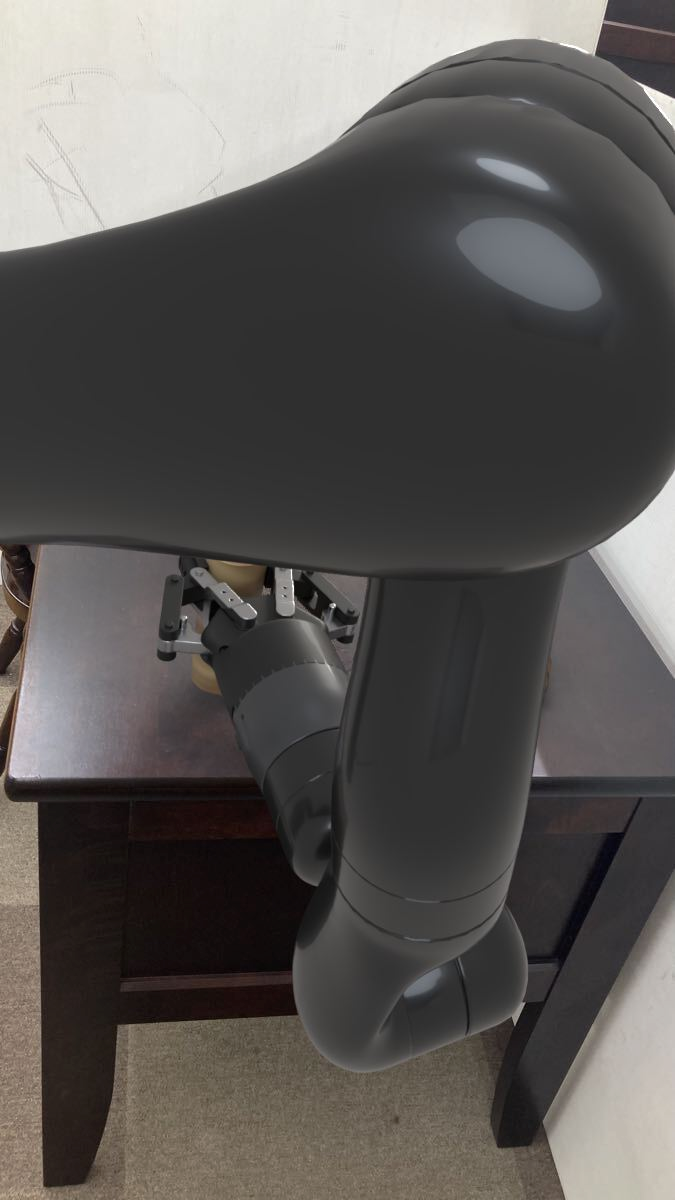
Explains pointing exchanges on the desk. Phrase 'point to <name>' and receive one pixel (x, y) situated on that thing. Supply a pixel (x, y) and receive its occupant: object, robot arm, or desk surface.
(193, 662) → the tan cylinder
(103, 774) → the desk surface
